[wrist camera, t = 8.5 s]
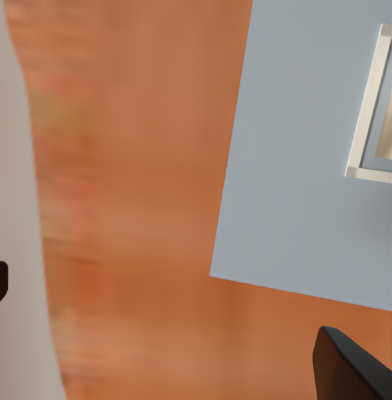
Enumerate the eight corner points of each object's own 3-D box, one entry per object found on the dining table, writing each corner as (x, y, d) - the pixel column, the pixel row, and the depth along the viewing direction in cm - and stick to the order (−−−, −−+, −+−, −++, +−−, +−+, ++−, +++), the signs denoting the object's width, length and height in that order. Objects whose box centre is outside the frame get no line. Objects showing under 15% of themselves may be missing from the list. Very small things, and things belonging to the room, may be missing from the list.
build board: (460, 319, 20) (468, 327, 19) (210, 272, 22) (209, 277, 21) (574, 6, 16) (590, -1, 15) (257, -22, 18) (257, -29, 17)
